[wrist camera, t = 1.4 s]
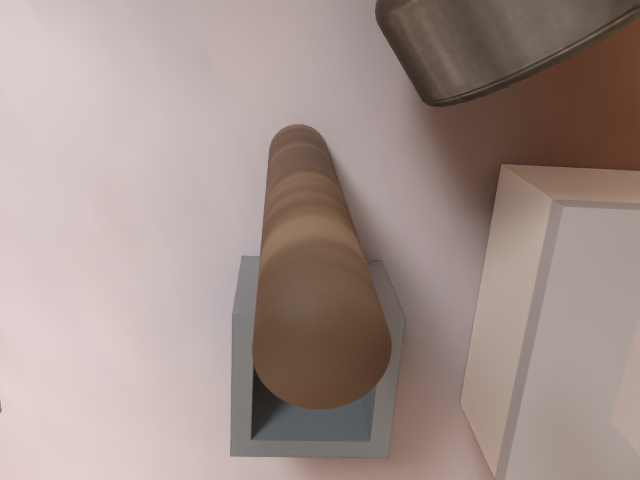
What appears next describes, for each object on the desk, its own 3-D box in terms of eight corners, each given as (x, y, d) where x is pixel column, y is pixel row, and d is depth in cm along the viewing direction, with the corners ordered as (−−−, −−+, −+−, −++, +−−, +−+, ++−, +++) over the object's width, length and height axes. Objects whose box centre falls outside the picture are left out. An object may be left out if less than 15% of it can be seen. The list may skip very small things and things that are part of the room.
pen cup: (241, 256, 30) (232, 314, 25) (381, 261, 31) (405, 319, 25) (239, 377, 33) (230, 456, 27) (369, 379, 34) (387, 457, 28)
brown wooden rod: (270, 122, 28) (253, 285, 11) (329, 126, 28) (398, 290, 12) (268, 180, 29) (250, 408, 12) (325, 183, 29) (384, 410, 13)
